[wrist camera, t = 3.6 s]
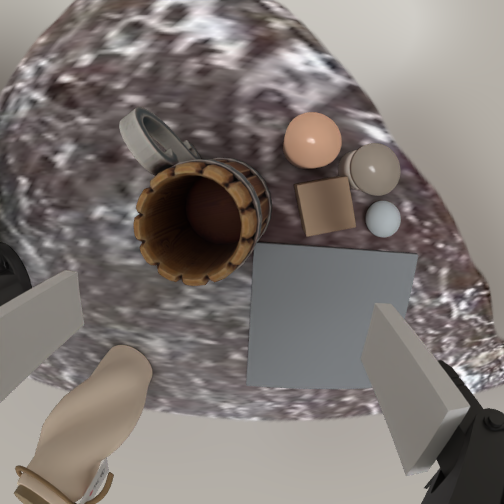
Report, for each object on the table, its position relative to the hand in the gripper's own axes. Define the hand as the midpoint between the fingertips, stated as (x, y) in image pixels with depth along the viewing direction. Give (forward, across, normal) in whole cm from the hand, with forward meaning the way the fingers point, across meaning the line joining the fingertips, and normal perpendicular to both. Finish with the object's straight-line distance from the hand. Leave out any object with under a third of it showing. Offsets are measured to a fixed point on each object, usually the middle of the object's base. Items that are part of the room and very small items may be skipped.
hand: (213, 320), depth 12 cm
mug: (+23, -5, +4) cm, 24 cm away
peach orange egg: (+23, +5, +10) cm, 25 cm away
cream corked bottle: (+23, -16, -22) cm, 36 cm away
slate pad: (+23, +11, -11) cm, 28 cm away
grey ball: (+21, +14, +3) cm, 25 cm away
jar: (+23, +11, +8) cm, 26 cm away
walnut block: (+23, +7, +4) cm, 24 cm away
